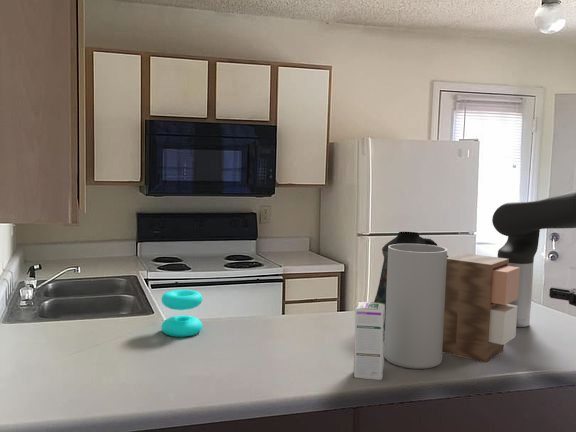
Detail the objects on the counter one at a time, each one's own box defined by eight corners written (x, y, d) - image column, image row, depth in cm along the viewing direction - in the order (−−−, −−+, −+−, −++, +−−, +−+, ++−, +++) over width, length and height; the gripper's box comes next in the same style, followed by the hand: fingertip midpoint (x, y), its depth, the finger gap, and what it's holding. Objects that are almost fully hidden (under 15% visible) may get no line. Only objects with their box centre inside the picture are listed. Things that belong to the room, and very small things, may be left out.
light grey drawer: (515, 336, 133) (517, 305, 132) (502, 344, 127) (504, 312, 126) (488, 331, 137) (490, 301, 136) (475, 338, 130) (476, 307, 130)
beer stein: (358, 319, 160) (361, 229, 158) (417, 313, 168) (421, 227, 165) (391, 337, 145) (395, 237, 143) (454, 329, 152) (459, 235, 150)
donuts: (155, 291, 146) (192, 286, 151) (155, 330, 147) (191, 324, 152) (171, 299, 137) (209, 294, 143) (171, 340, 138) (209, 334, 144)
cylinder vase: (451, 368, 124) (457, 252, 121) (395, 371, 122) (400, 252, 119) (427, 349, 136) (432, 243, 133) (376, 351, 134) (380, 243, 131)
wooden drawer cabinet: (503, 351, 136) (508, 258, 134) (485, 362, 128) (491, 264, 126) (458, 340, 143) (463, 253, 141) (439, 351, 135) (443, 258, 133)
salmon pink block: (517, 298, 132) (519, 267, 131) (505, 305, 126) (507, 272, 125) (490, 294, 136) (492, 263, 135) (477, 300, 130) (479, 268, 129)
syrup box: (382, 380, 116) (385, 309, 115) (352, 377, 117) (355, 307, 116) (383, 370, 122) (386, 302, 120) (355, 368, 123) (357, 300, 121)
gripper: (652, 282, 117) (560, 270, 128) (640, 293, 107) (541, 279, 118) (649, 319, 118) (558, 303, 129) (637, 333, 108) (539, 315, 119)
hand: (550, 292), depth 123 cm, fingers closed
